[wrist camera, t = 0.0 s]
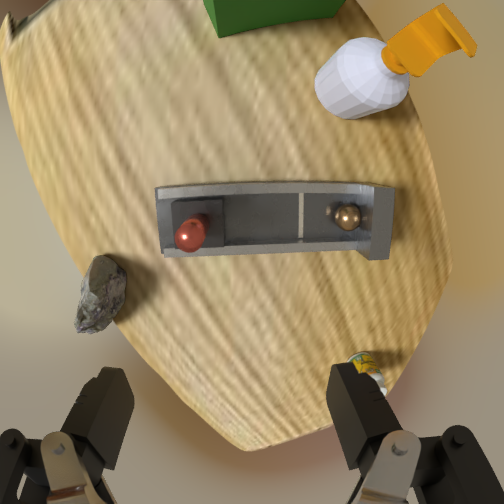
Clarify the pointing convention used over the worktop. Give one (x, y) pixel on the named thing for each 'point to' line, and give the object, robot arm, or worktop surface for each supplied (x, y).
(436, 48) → the soap bottle
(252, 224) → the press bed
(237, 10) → the hardback book
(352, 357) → the supplement bottle
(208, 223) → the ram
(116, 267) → the mineral rock
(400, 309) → the worktop surface
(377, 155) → the worktop surface
